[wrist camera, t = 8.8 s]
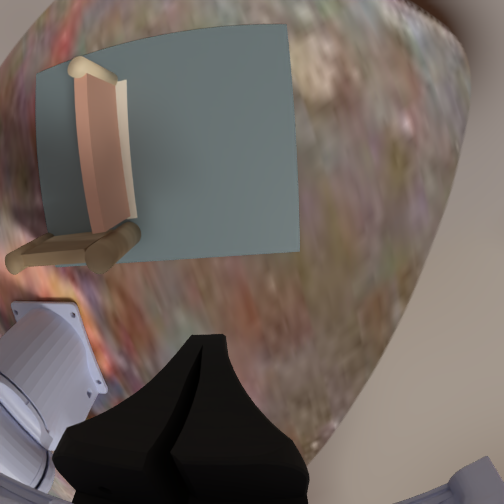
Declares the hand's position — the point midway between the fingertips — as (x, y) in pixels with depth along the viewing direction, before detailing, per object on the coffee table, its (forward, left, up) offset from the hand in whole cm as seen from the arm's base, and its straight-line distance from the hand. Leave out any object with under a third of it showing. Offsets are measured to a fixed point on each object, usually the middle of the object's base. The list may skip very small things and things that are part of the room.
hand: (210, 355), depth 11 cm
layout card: (+9, +4, -9) cm, 13 cm away
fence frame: (+3, +9, -9) cm, 13 cm away
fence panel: (+9, +6, -9) cm, 14 cm away
